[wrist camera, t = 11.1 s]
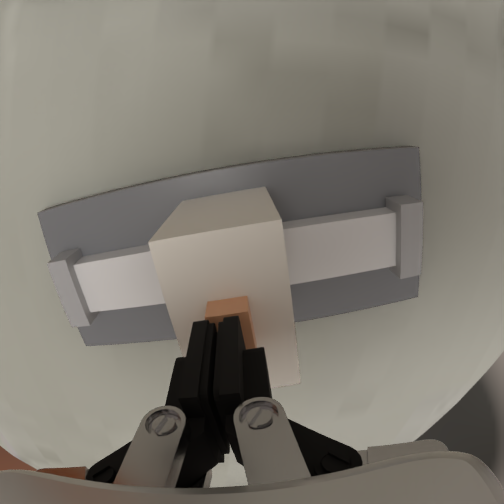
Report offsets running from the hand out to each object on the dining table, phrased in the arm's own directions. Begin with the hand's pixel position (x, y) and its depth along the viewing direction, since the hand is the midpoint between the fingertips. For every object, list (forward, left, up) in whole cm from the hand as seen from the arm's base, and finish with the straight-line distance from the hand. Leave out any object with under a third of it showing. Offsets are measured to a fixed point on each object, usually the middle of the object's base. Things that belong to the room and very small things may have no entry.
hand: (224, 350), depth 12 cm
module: (0, 0, -9) cm, 9 cm away
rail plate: (0, 0, -11) cm, 11 cm away
